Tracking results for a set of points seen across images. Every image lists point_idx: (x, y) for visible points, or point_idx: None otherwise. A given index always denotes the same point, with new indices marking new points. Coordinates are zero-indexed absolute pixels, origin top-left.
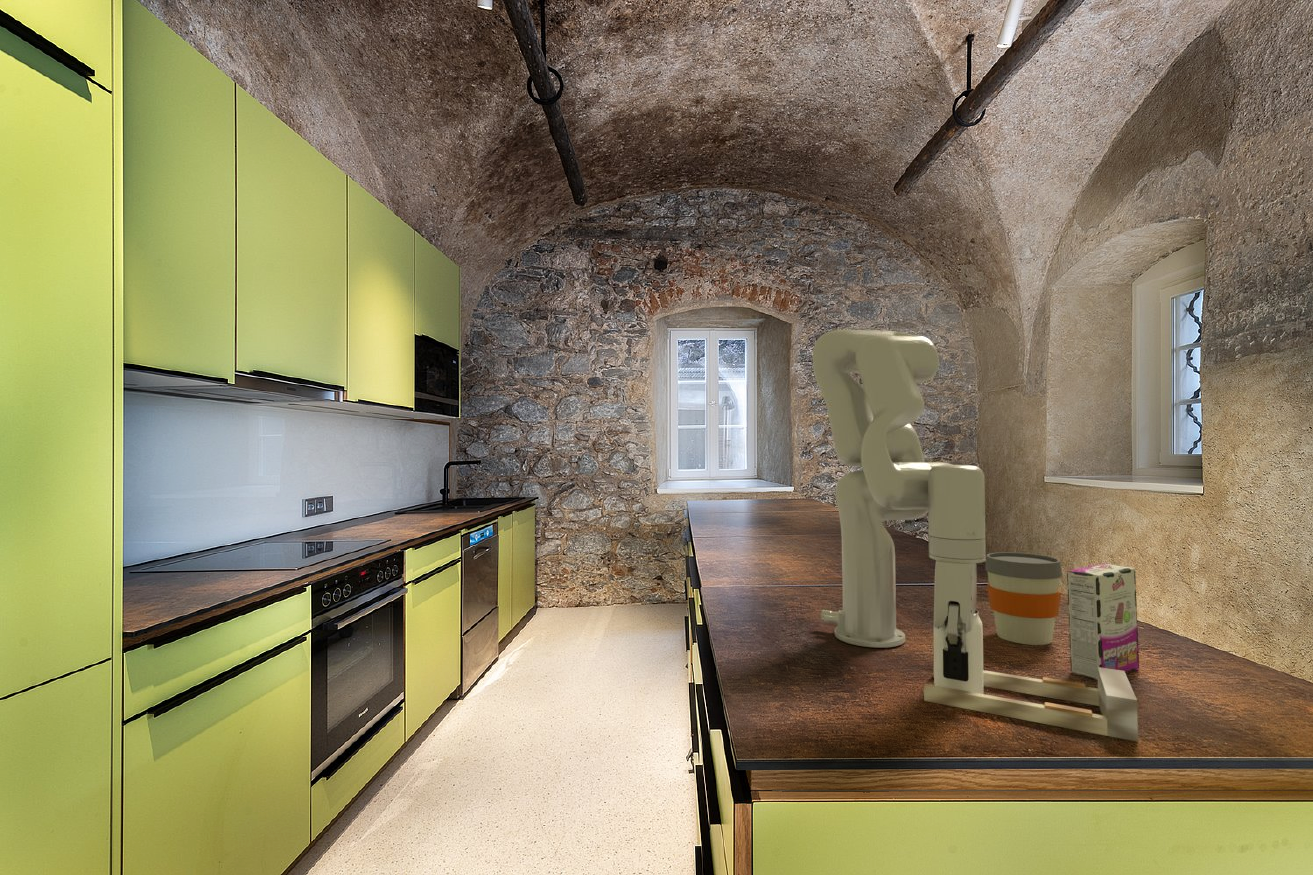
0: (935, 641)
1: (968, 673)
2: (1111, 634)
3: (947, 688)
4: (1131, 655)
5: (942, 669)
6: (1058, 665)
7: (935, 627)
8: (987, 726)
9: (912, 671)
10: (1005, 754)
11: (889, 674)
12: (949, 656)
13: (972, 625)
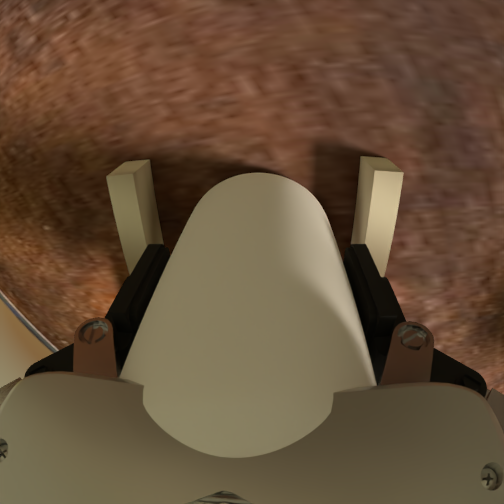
0: (177, 286)
1: None
2: None
3: (139, 240)
4: None
5: (176, 244)
6: (492, 368)
7: (34, 374)
8: (90, 298)
9: (391, 84)
10: (26, 315)
11: (314, 9)
12: (107, 318)
13: None
